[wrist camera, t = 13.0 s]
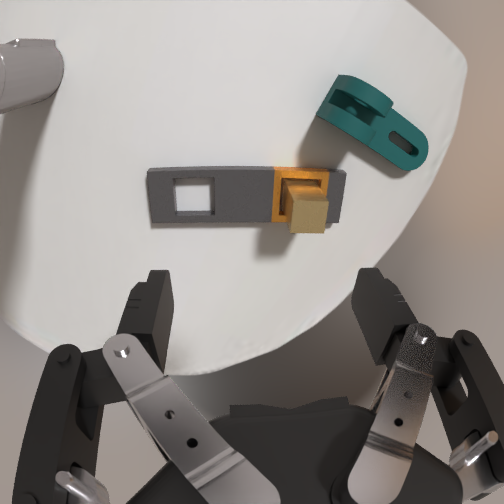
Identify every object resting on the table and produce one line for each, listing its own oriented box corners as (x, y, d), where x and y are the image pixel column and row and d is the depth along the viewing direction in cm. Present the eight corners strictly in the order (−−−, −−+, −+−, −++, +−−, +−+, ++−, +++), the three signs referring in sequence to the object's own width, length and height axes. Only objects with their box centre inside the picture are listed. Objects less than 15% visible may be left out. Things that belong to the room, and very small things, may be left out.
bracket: (315, 114, 40) (331, 123, 34) (338, 74, 37) (359, 76, 31) (407, 173, 45) (432, 192, 39) (427, 139, 42) (456, 154, 36)
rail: (149, 168, 43) (146, 171, 41) (343, 170, 45) (346, 173, 43) (154, 218, 47) (152, 223, 46) (335, 218, 49) (338, 222, 48)
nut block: (283, 178, 45) (293, 200, 38) (314, 179, 45) (328, 201, 39) (281, 207, 47) (290, 233, 41) (310, 207, 48) (324, 233, 41)
